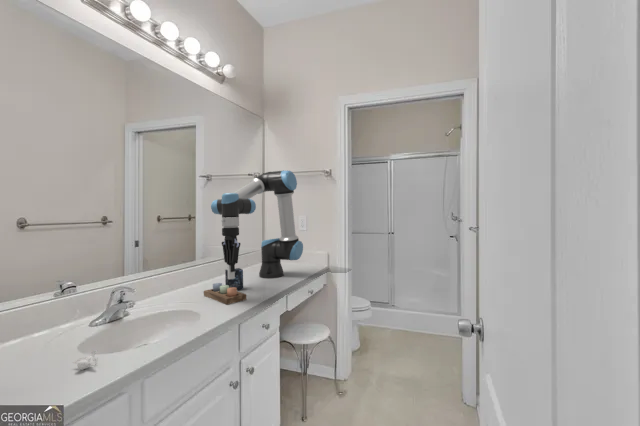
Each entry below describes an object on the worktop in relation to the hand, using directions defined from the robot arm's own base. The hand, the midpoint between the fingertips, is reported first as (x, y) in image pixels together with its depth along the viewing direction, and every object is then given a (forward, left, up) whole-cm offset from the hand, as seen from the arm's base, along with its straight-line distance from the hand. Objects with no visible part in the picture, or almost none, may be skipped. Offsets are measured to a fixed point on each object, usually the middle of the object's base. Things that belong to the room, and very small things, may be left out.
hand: (231, 278), depth 143 cm
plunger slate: (0, -14, -9) cm, 17 cm away
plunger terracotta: (0, 0, -9) cm, 9 cm away
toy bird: (+58, +28, -10) cm, 65 cm away
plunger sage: (0, -7, -9) cm, 11 cm away
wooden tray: (0, -7, -10) cm, 12 cm away
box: (-12, -18, -10) cm, 24 cm away
